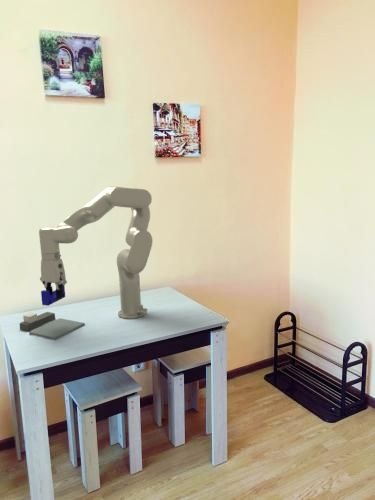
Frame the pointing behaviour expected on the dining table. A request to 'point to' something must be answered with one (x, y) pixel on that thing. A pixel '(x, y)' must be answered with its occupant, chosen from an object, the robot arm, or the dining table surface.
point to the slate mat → (57, 328)
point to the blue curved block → (50, 296)
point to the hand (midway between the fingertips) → (54, 296)
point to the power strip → (36, 320)
